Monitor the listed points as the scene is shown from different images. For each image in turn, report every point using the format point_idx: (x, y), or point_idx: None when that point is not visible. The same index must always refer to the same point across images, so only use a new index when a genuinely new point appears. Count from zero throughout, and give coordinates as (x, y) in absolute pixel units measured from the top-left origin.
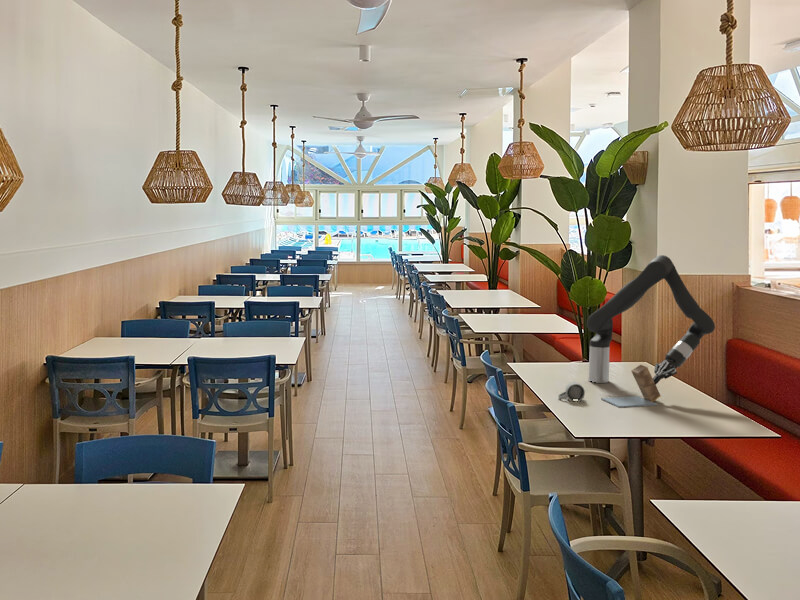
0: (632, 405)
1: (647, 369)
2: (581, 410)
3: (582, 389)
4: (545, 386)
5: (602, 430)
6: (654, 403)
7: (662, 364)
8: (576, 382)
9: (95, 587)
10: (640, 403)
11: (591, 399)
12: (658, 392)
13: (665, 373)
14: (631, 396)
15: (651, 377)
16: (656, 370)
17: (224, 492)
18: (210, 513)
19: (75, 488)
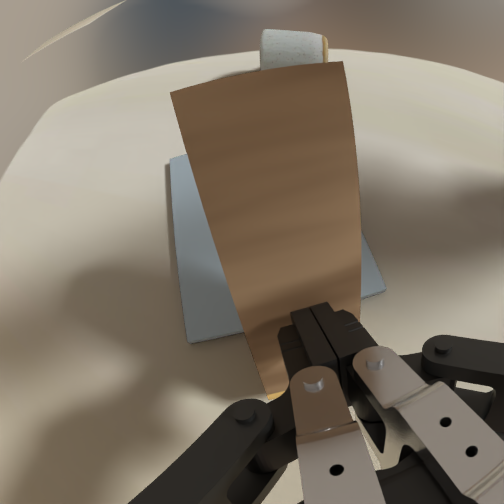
0: (172, 206)
1: (181, 125)
2: (168, 89)
3: (287, 59)
4: (435, 73)
5: (36, 131)
6: (195, 328)
7: (497, 473)
8: (309, 36)
9: (36, 49)
10: (202, 250)
11: None
12: (260, 376)
13: (195, 445)
14: (366, 248)
15: (216, 247)
16: (451, 364)
17: (82, 26)
18: (64, 35)
19: (114, 6)
